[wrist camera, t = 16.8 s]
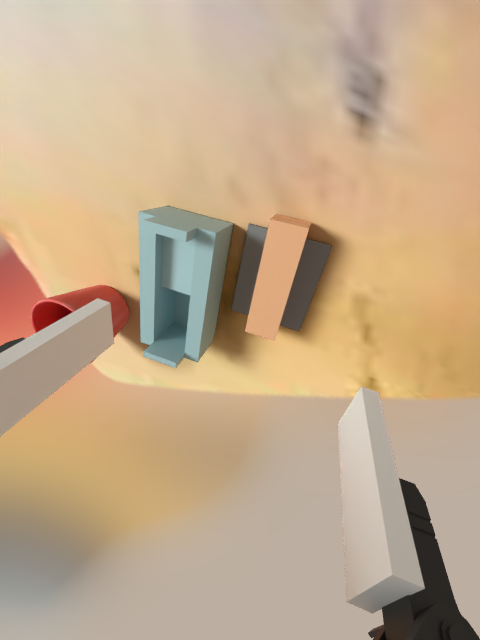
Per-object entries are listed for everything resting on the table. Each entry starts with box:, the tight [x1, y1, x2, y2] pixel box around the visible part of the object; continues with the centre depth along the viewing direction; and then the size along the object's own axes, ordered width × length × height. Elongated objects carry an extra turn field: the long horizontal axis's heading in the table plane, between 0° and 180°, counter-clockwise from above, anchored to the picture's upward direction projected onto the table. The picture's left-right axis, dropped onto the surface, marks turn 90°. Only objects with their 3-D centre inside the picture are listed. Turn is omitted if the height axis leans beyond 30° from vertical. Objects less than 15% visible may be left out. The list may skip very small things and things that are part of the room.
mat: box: [231, 224, 332, 331], centre depth 34 cm, size 12×10×1 cm
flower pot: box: [31, 285, 129, 364], centre depth 40 cm, size 11×11×10 cm
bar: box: [245, 214, 311, 341], centre depth 31 cm, size 14×4×4 cm, turn 170°
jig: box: [139, 206, 234, 368], centre depth 34 cm, size 18×9×9 cm, turn 169°
